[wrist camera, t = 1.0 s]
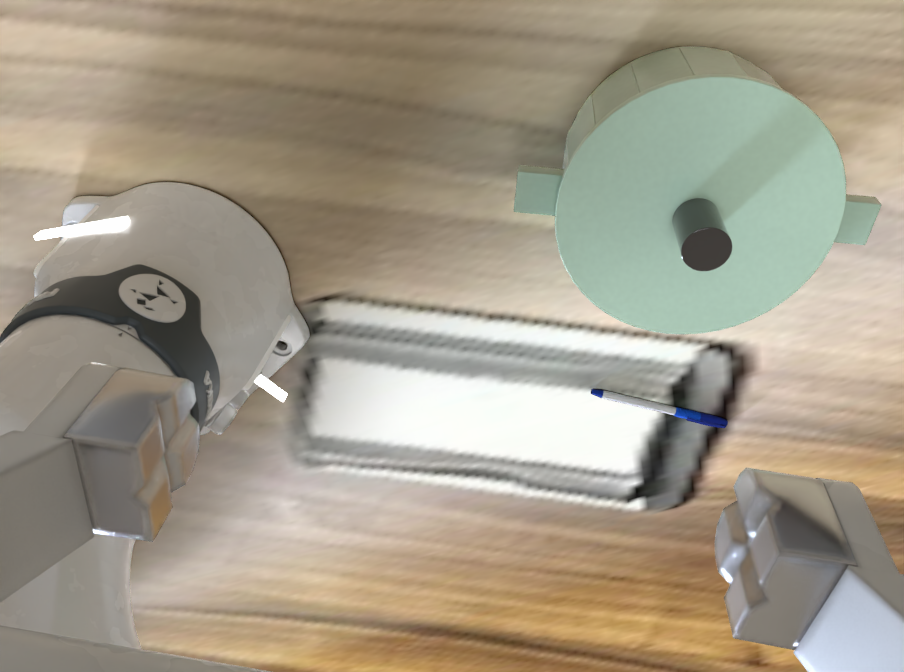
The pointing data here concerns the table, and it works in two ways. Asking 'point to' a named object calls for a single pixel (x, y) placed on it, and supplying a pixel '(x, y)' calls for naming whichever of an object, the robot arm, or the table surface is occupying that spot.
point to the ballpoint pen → (664, 408)
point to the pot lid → (700, 204)
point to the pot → (650, 70)
